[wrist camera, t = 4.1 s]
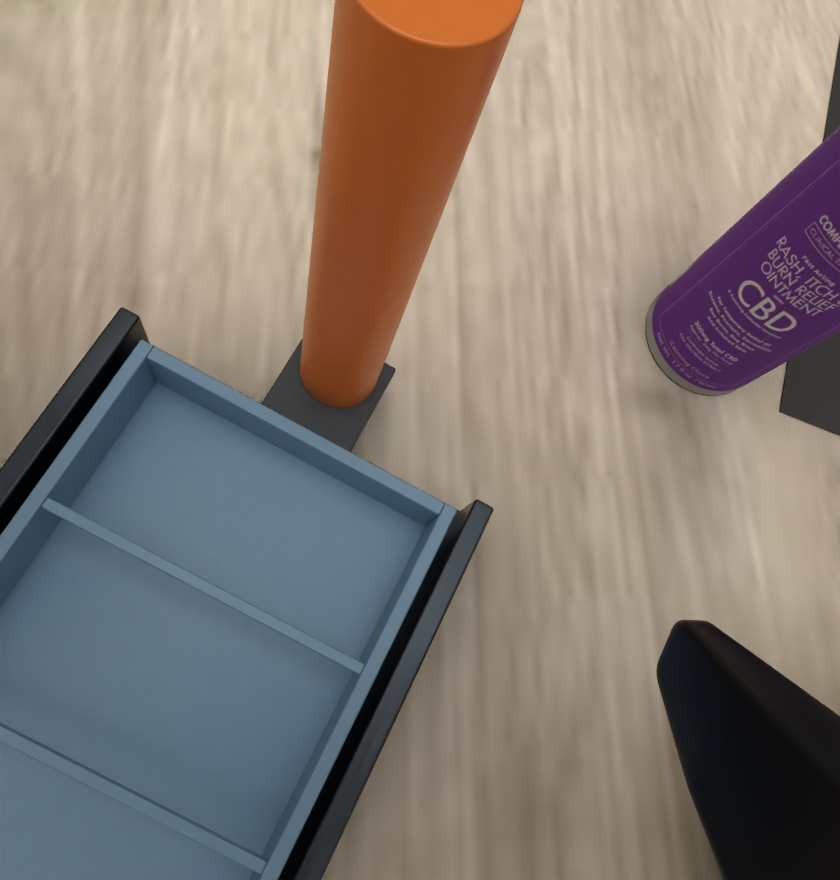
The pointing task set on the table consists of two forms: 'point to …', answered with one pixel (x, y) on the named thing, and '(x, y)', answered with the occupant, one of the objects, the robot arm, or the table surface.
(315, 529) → the blue compartment tray
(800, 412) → the candle holder
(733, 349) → the container
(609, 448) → the table surface
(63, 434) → the box
